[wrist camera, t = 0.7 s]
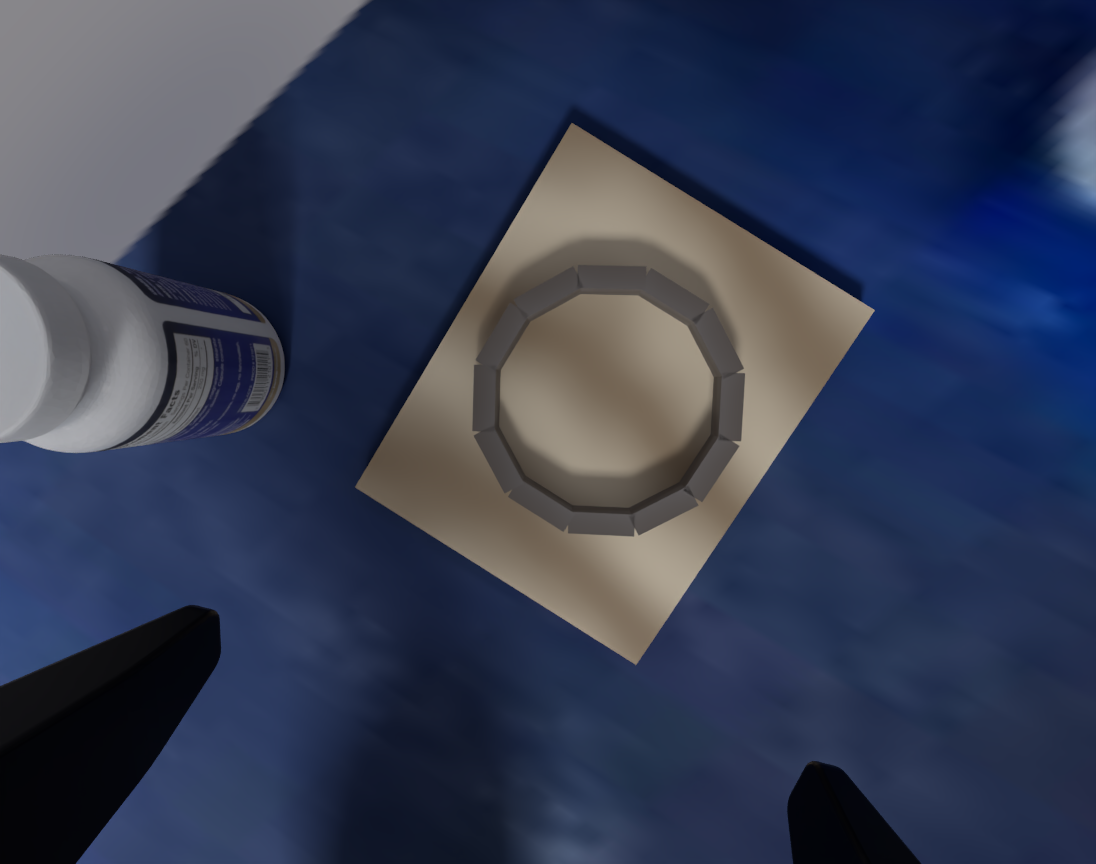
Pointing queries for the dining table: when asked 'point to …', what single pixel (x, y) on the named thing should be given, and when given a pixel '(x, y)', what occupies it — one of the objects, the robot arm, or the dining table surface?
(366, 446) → the dining table surface
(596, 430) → the collar board
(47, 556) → the dining table surface
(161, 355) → the pill bottle
